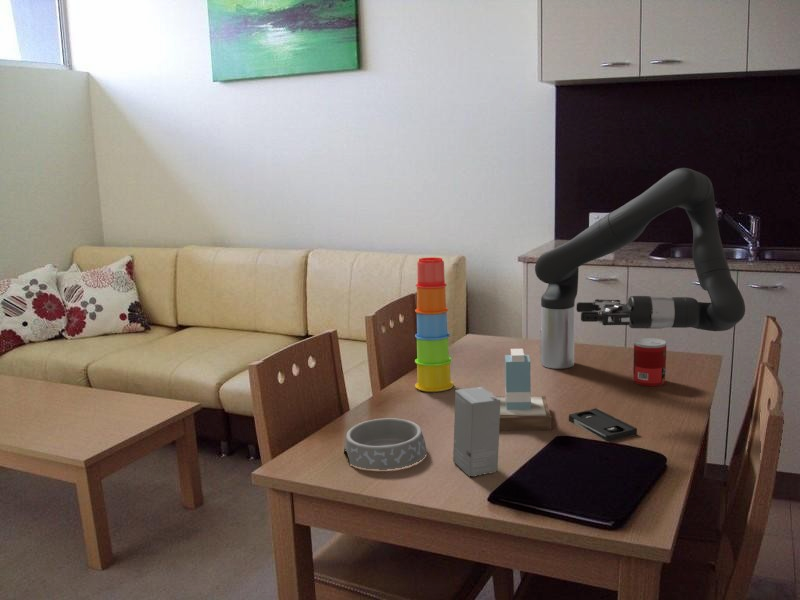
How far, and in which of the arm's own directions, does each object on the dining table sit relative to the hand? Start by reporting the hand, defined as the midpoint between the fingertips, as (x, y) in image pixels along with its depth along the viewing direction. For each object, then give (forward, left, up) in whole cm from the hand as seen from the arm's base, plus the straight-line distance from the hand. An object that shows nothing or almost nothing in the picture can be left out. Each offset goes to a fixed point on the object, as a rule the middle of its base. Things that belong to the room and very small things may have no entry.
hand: (578, 311), depth 177 cm
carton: (-2, -15, -21) cm, 26 cm away
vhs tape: (+11, -1, -25) cm, 27 cm away
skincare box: (+18, -35, -25) cm, 46 cm away
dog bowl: (+3, -50, -25) cm, 56 cm away
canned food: (-10, +28, -25) cm, 39 cm away
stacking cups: (-32, -24, -25) cm, 47 cm away
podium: (-2, -15, -24) cm, 29 cm away
